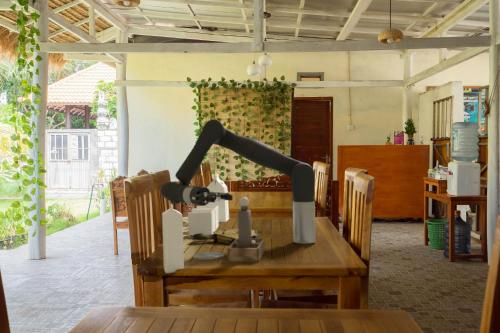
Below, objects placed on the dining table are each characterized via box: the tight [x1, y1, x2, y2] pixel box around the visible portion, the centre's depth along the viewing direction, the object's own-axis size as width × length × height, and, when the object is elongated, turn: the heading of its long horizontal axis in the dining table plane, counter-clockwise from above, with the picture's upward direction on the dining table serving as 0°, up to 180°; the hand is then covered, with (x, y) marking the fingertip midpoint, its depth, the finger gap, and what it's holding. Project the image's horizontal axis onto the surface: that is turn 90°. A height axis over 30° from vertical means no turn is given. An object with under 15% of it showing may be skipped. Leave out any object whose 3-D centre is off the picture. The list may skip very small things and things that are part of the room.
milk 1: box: [161, 203, 185, 274], centre depth 153 cm, size 6×6×22 cm
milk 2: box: [205, 173, 230, 223], centre depth 259 cm, size 12×12×26 cm
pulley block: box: [192, 228, 261, 245], centre depth 199 cm, size 14×6×30 cm
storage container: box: [187, 205, 220, 236], centre depth 227 cm, size 25×11×11 cm, turn 177°
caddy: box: [226, 237, 266, 263], centre depth 168 cm, size 11×18×6 cm, turn 172°
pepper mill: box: [237, 196, 252, 248], centre depth 163 cm, size 5×5×22 cm
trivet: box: [193, 251, 225, 260], centre depth 169 cm, size 11×11×1 cm
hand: (223, 198), depth 171 cm, fingers open, 8 cm apart
